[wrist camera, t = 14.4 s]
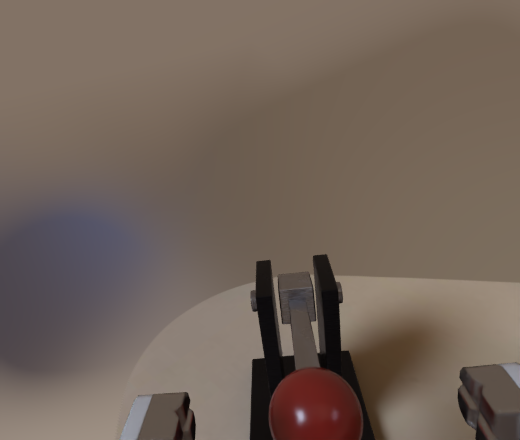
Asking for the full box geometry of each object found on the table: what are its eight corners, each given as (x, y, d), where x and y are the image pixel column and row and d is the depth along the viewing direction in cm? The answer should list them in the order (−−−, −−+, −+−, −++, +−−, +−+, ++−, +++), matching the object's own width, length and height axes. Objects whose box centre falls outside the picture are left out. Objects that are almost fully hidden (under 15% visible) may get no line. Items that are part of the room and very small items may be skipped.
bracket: (388, 498, 24) (392, 328, 19) (250, 508, 25) (215, 344, 19) (349, 360, 35) (344, 228, 30) (254, 369, 36) (232, 240, 30)
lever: (377, 494, 13) (371, 405, 12) (274, 501, 13) (262, 414, 12) (322, 309, 27) (318, 261, 26) (272, 314, 27) (266, 267, 26)
